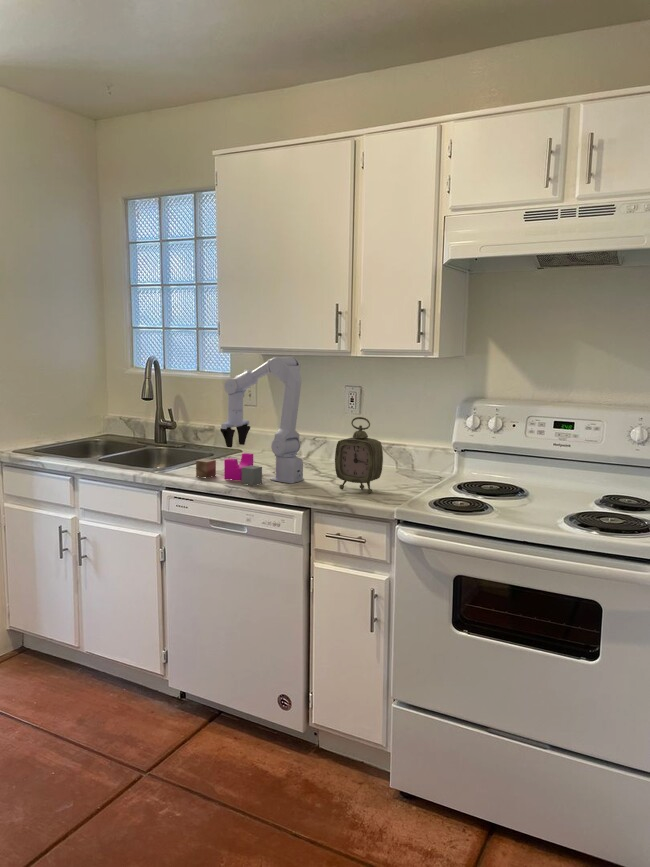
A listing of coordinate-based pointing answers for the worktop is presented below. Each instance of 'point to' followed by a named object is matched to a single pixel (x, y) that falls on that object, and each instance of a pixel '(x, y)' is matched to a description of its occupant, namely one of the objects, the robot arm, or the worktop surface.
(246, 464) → the toy block
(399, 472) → the worktop surface
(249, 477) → the slate block
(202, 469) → the walnut block
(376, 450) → the tabletop clock
